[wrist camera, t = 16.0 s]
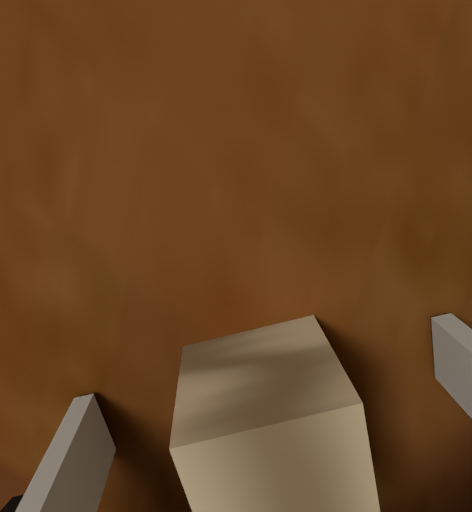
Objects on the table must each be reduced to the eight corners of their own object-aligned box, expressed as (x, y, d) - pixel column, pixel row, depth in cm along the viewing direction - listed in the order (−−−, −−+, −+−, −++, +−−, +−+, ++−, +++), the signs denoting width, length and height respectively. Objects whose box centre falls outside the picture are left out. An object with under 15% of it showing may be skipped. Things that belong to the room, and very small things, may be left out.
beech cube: (216, 448, 16) (217, 581, 11) (182, 345, 15) (168, 448, 10) (333, 420, 16) (385, 541, 11) (313, 313, 14) (362, 403, 10)
